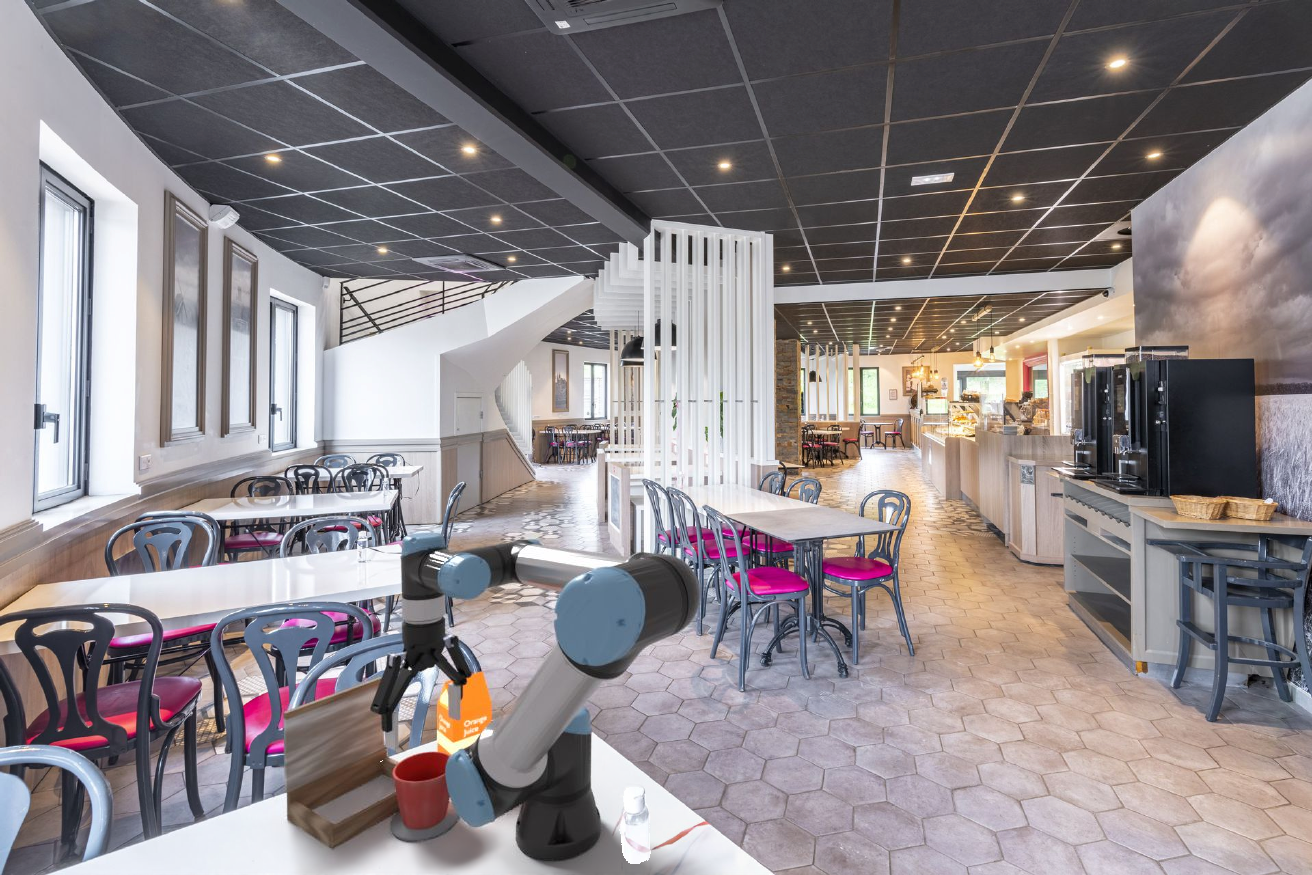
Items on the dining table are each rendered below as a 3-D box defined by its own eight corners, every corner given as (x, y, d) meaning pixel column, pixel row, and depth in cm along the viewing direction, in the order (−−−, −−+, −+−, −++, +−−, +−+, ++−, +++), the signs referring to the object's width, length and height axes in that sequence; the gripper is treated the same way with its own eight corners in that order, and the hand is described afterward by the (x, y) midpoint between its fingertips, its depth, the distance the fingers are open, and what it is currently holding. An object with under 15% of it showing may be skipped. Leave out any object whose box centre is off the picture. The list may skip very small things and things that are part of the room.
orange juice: (436, 769, 138) (436, 676, 138) (475, 755, 144) (475, 665, 144) (453, 784, 132) (452, 687, 132) (492, 769, 138) (492, 676, 138)
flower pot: (436, 839, 114) (436, 784, 114) (380, 831, 116) (380, 777, 116) (466, 804, 125) (465, 754, 124) (414, 797, 127) (414, 748, 127)
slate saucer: (472, 815, 122) (472, 811, 122) (417, 850, 112) (417, 846, 112) (431, 794, 129) (431, 791, 129) (376, 826, 119) (376, 822, 119)
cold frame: (429, 793, 129) (429, 694, 129) (332, 849, 112) (331, 735, 112) (377, 767, 139) (376, 675, 138) (280, 815, 122) (279, 710, 121)
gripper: (464, 599, 132) (464, 702, 133) (347, 632, 111) (349, 755, 112) (489, 605, 128) (490, 711, 128) (374, 641, 107) (375, 768, 108)
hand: (424, 732), depth 120 cm, fingers open, 13 cm apart
